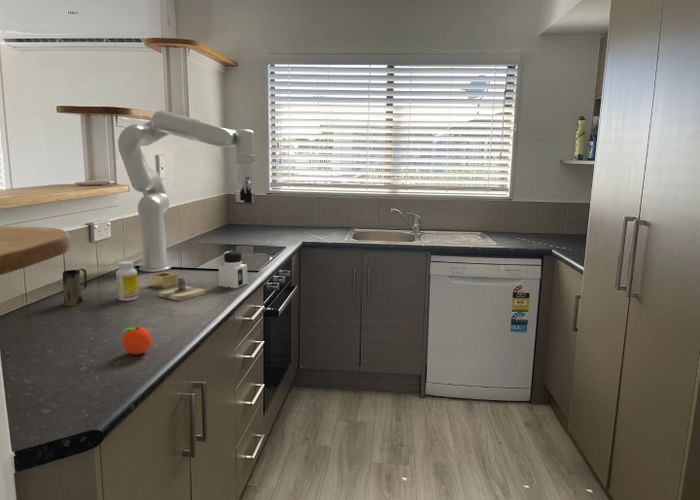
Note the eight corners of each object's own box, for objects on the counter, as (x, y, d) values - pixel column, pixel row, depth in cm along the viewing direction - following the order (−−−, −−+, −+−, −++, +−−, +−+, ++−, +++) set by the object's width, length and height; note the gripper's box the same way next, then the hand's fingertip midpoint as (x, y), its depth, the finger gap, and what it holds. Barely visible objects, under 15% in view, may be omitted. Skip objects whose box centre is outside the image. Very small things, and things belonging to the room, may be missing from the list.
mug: (60, 305, 175) (57, 270, 173) (71, 301, 180) (68, 266, 178) (82, 307, 174) (79, 271, 172) (93, 302, 179) (90, 267, 177)
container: (247, 284, 204) (247, 250, 202) (235, 288, 198) (234, 254, 195) (231, 281, 208) (230, 248, 205) (218, 286, 201) (217, 252, 198)
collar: (151, 285, 201) (150, 275, 200) (165, 281, 206) (164, 271, 206) (163, 288, 197) (162, 277, 197) (177, 284, 203) (177, 274, 202)
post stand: (159, 296, 187) (158, 279, 186) (183, 289, 196) (182, 273, 195) (181, 301, 182) (180, 284, 180) (205, 293, 191) (204, 277, 190)
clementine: (114, 359, 133) (112, 331, 131) (124, 348, 140) (122, 322, 138) (147, 358, 133) (145, 331, 132) (155, 348, 140) (154, 322, 139)
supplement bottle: (143, 297, 186) (140, 261, 183) (129, 302, 180) (126, 265, 177) (127, 295, 188) (124, 259, 185) (113, 300, 182) (110, 263, 179)
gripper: (233, 159, 227) (234, 199, 230) (239, 160, 211) (240, 204, 215) (250, 159, 230) (251, 199, 233) (258, 161, 214) (258, 203, 217)
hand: (246, 201), depth 224 cm, fingers open, 9 cm apart
